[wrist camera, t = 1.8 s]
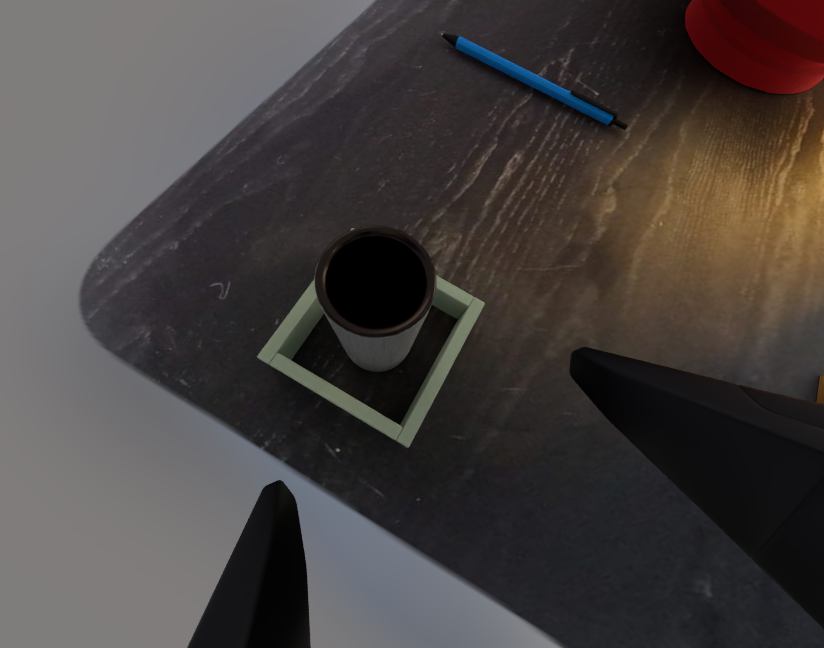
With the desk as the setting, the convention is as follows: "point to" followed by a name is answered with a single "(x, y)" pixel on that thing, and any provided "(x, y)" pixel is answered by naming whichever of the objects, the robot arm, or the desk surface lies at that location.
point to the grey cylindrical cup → (375, 293)
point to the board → (820, 390)
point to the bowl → (761, 41)
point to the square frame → (280, 357)
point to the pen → (537, 82)
